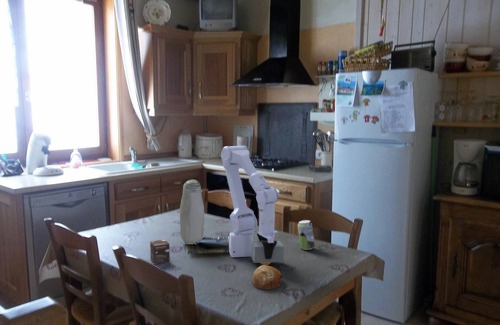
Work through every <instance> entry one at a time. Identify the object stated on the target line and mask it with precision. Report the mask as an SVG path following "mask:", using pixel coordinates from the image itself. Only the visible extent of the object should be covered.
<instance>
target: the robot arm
mask: <svg viewBox="0 0 500 325" xmlns="http://www.w3.org/2000/svg"><path fill="white" fill-rule="evenodd" d="M220 157H221V160H222V167H223V168H224V170H225V174H226V179H227V184H228V188H229V191H230V196H231V201H232V206H233V211H232V212H231V214H230V215H229V219H230V223H229V224H230V226H229V227H230V229H231V231H232V232H229V238H228V244H229V245H228V251H229V255H230V257H231V258H241V257H242V258H243V257H244V258H246V257H251V247H252V241H254V240H253V238H254V237H253V236H254V235H253V233H255V230H256V229H257V227H258V233H256V235H257V236H256V237H257V239H258V241H261V242H262V244H263V247H264V254H265V259H271V258H272V254H273V250H274V248H275V246H276V244H277V241H278V240H275V235H278V231H277V230H275V219H276V217H275V215H276V214H275V211H276V209H275V208H276V203H277V202H278V200H279V192H278V190H277V188H275V187H273V186H272V185H270V184H269V182H268V181H267V180H266V178H265V177H264V175H263V173H261V172H258V171H257V170H256V168H255V165H254V164H253V162H252V161H251V158H250V151H249V149H248V147H247V146H246V145H234V146H229V145H227V146H224V147H223V148H222V150H221V153H220ZM241 167H242V169H243V171H244V172H245V173H246V175H247V176H248V177H249V179H248V183H249V184H250V186H251V187H252V189H253V190H254V192H255V194H256V196H255V198H256V201H257V208H258V216H259V217H258V220H257V218H256V215H255V214H254V210H253V209H251V208H249V207H248V205H247V200H246V197H245V193H244V188H243V187H244V186H243V182H242V179H241V176H240V175H241V174H240V171H239V170H240V168H241Z"/></svg>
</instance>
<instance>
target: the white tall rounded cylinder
mask: <svg viewBox="0 0 500 325" xmlns="http://www.w3.org/2000/svg"><path fill="white" fill-rule="evenodd" d="M202 194H203V193H202V186H201V183H200V182H199V181H198V180H197V179H189V180H187V181H186V182H184V184H183V188H182V196H181V199H180V206H179V224H180V226H179V227H180V230H179V231H180V238H181V240H182V241H183V243H184V244H186V245H188V244H187V243H195V242H198V241H200V240H201V241H202V240H203V238H204V234H205V204H204V200H203V196H202ZM201 241H200V242H201Z"/></svg>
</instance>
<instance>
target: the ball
mask: <svg viewBox="0 0 500 325" xmlns="http://www.w3.org/2000/svg"><path fill="white" fill-rule="evenodd" d="M259 263H260V264H261V266H262V265H266V266H270V264H271V263H272V262H259Z"/></svg>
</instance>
